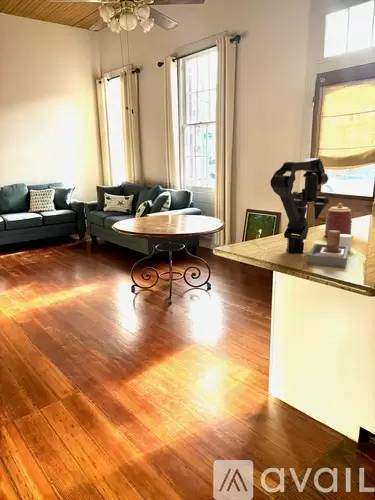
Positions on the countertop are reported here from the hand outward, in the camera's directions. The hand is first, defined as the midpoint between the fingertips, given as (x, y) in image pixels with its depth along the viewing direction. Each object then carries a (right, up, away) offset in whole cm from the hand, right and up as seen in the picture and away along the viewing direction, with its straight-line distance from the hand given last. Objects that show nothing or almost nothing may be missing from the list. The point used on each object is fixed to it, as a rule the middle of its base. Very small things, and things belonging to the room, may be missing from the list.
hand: (309, 220), depth 172 cm
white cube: (+15, -14, -3) cm, 21 cm away
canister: (+23, -7, +24) cm, 34 cm away
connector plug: (+2, -18, -22) cm, 28 cm away
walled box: (+2, -18, -17) cm, 25 cm away
